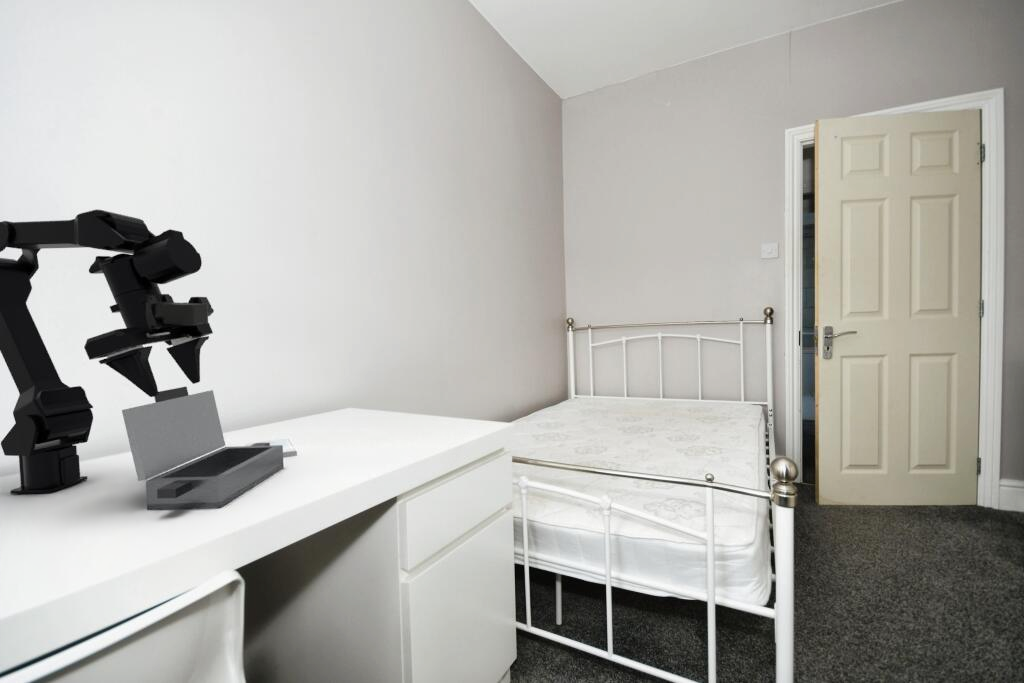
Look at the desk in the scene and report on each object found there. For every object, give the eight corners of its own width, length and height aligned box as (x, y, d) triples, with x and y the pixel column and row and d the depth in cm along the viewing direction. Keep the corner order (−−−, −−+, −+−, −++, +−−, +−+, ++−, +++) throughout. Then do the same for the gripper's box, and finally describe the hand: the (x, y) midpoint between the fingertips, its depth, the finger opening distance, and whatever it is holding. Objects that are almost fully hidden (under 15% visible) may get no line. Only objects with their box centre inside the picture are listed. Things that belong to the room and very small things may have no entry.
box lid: (145, 479, 64) (131, 482, 64) (225, 445, 82) (214, 447, 82) (126, 397, 64) (111, 400, 64) (210, 381, 82) (199, 384, 82)
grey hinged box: (129, 518, 61) (127, 488, 61) (236, 464, 85) (235, 442, 85) (206, 516, 61) (204, 486, 61) (291, 462, 85) (290, 440, 85)
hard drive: (245, 444, 96) (248, 457, 86) (288, 437, 101) (296, 449, 90) (245, 452, 96) (248, 466, 86) (289, 445, 101) (297, 458, 90)
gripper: (137, 276, 62) (183, 386, 64) (223, 278, 80) (257, 363, 82) (60, 302, 62) (107, 411, 64) (163, 298, 81) (198, 382, 83)
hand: (176, 389), depth 73 cm, fingers open, 9 cm apart
